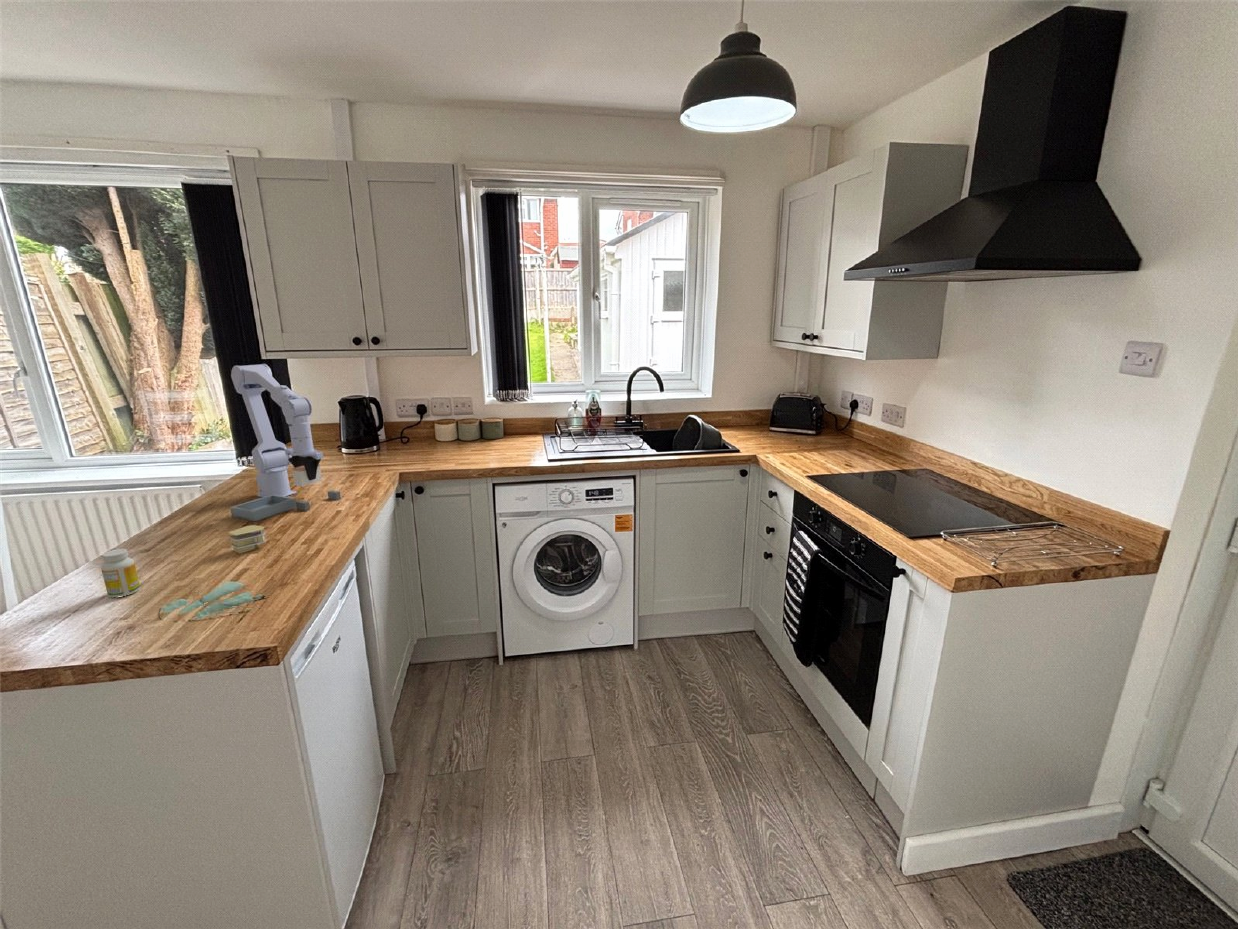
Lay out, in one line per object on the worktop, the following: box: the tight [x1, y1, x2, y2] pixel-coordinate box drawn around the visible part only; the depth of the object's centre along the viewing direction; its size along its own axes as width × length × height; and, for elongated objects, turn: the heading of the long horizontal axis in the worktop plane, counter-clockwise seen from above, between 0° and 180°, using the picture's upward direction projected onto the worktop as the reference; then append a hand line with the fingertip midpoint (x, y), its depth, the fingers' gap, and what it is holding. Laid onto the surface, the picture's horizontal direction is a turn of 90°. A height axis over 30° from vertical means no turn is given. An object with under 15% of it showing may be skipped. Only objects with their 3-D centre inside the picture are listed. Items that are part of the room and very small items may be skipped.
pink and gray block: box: [291, 463, 323, 488], centre depth 173 cm, size 4×7×6 cm, turn 157°
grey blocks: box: [296, 489, 342, 512], centre depth 176 cm, size 4×13×2 cm, turn 157°
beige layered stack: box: [228, 525, 268, 555], centre depth 142 cm, size 10×9×6 cm
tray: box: [229, 495, 297, 522], centre depth 169 cm, size 11×14×3 cm
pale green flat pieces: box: [161, 580, 267, 619], centre depth 116 cm, size 20×22×2 cm
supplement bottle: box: [100, 548, 141, 598], centre depth 118 cm, size 5×5×10 cm
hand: (307, 478), depth 174 cm, fingers closed on pink and gray block, 3 cm apart
